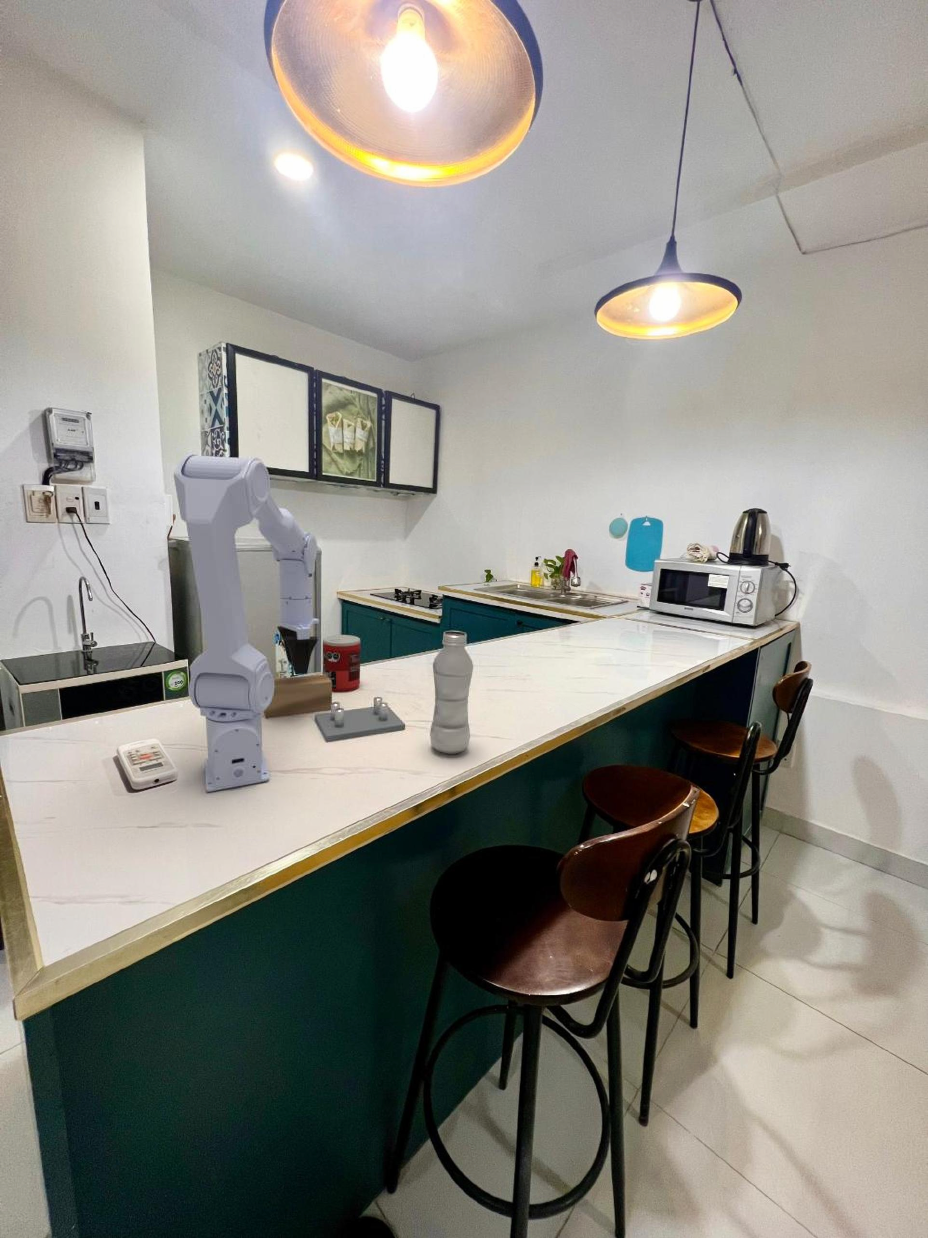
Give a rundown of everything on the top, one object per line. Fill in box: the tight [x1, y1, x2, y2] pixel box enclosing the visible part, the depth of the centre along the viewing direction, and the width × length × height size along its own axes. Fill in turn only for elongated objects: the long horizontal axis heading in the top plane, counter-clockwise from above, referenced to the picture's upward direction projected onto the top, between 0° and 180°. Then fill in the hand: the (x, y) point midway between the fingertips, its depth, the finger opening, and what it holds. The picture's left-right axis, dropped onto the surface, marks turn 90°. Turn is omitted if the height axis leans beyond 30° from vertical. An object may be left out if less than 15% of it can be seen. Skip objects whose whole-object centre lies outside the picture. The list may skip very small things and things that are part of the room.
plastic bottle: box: [429, 630, 474, 755], centre depth 80 cm, size 6×7×20 cm
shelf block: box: [263, 673, 333, 719], centre depth 94 cm, size 5×12×6 cm, turn 118°
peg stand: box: [314, 696, 406, 743], centre depth 89 cm, size 10×14×4 cm
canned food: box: [322, 634, 361, 693], centre depth 107 cm, size 8×8×11 cm
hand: (297, 667), depth 93 cm, fingers open, 7 cm apart
